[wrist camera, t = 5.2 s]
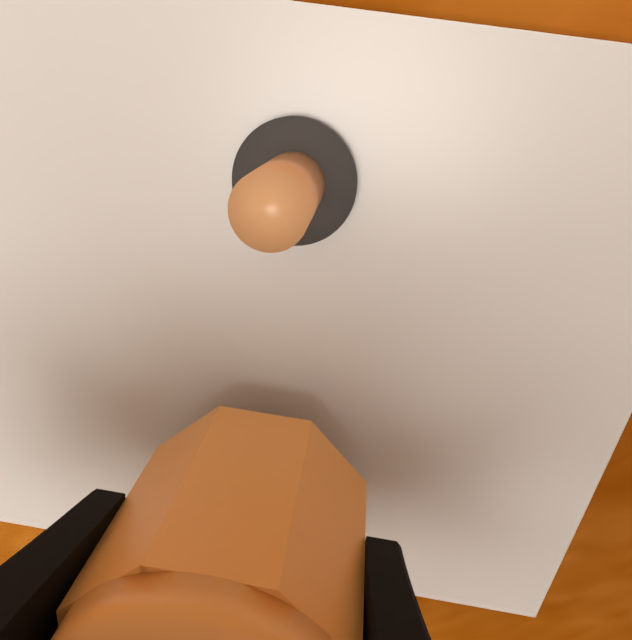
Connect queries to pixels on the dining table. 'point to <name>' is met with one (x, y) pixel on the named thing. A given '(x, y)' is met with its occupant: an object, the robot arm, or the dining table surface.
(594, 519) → the dining table surface
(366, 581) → the robot arm
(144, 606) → the acorn nut
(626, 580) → the dining table surface
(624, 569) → the dining table surface
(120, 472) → the junction plate
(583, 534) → the dining table surface
